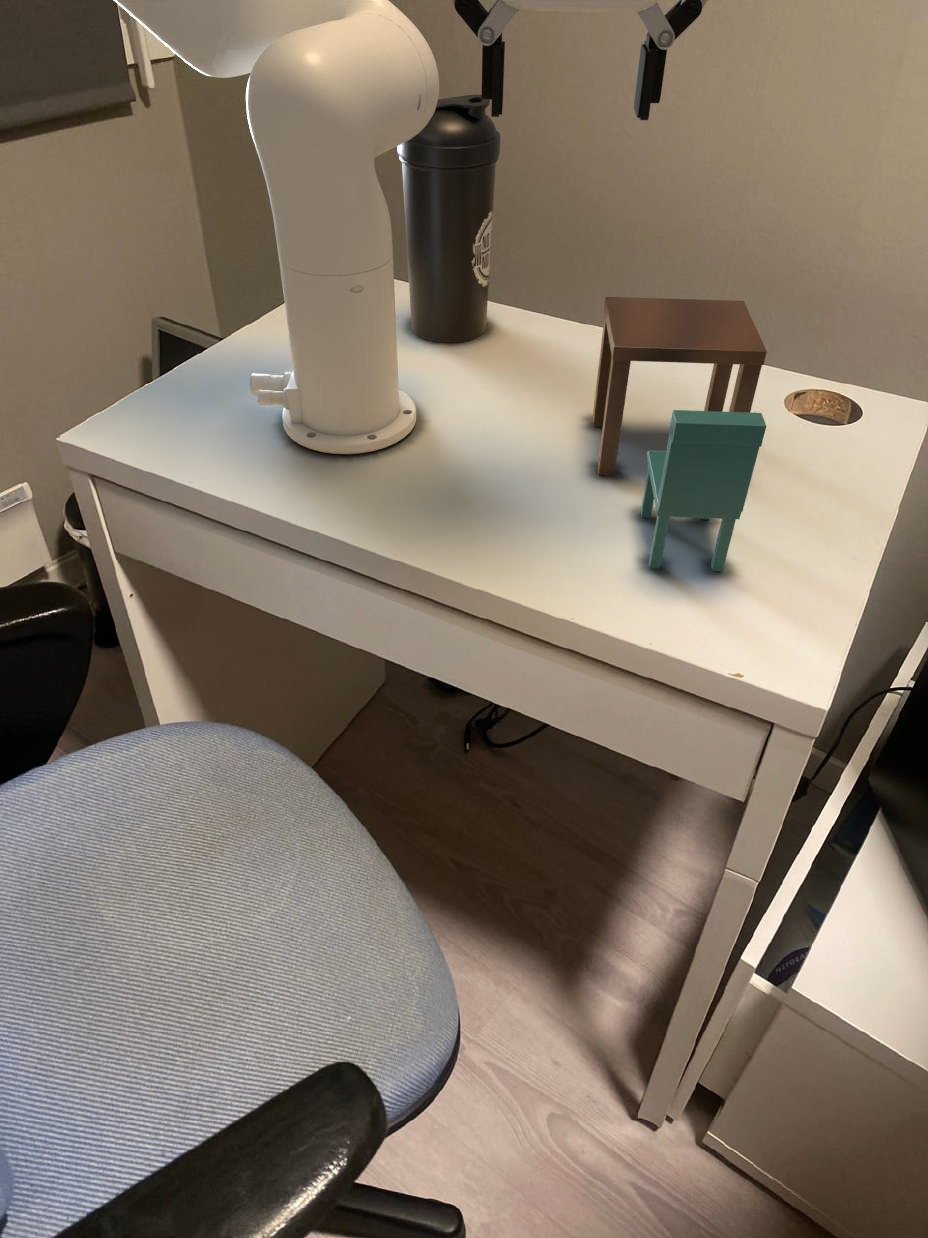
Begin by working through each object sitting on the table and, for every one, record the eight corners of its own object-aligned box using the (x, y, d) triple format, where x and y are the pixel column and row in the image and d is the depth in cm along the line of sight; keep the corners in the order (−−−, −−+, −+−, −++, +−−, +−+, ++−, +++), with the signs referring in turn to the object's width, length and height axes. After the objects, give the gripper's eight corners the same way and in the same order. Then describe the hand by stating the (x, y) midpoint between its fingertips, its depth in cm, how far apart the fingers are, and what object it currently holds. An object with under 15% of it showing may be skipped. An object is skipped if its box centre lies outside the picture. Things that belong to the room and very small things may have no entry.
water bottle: (484, 350, 97) (491, 111, 82) (393, 341, 99) (383, 105, 83) (500, 312, 105) (509, 87, 89) (415, 304, 106) (410, 82, 91)
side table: (597, 475, 79) (614, 346, 71) (591, 419, 86) (605, 296, 78) (735, 480, 78) (767, 351, 70) (716, 423, 86) (744, 300, 78)
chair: (726, 577, 68) (766, 425, 60) (647, 574, 69) (676, 422, 60) (709, 513, 75) (743, 367, 66) (637, 510, 75) (661, 364, 66)
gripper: (744, -235, 51) (690, 103, 63) (442, -239, 52) (443, 97, 63) (771, -242, 46) (707, 131, 57) (432, -246, 46) (435, 124, 58)
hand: (568, 113), depth 60 cm, fingers open, 9 cm apart
